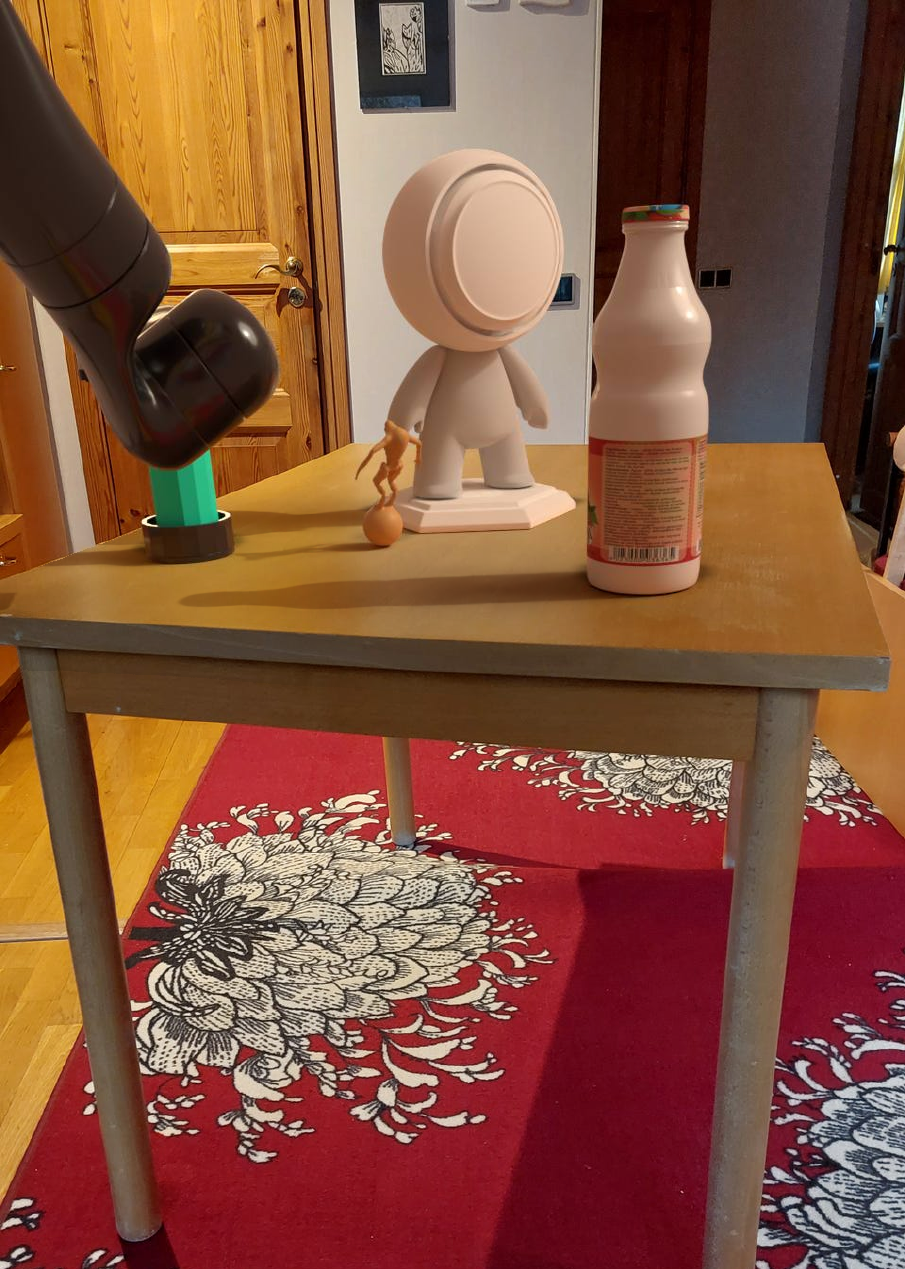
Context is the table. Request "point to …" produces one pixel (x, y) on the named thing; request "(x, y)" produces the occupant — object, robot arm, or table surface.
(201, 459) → the candle
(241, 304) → the robot arm
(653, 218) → the fruit juice
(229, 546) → the tape roll
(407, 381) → the big headed doll
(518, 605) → the table surface
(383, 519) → the figurine
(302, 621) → the table surface
